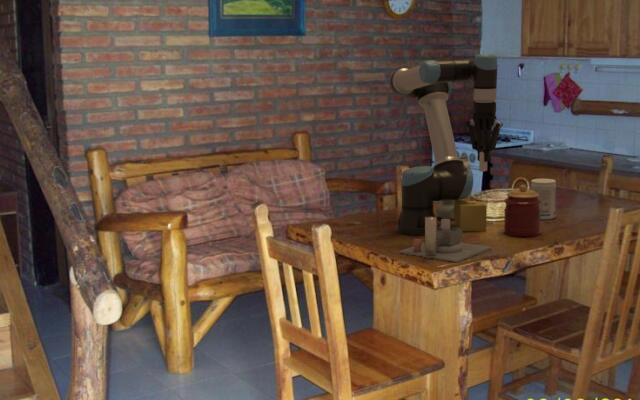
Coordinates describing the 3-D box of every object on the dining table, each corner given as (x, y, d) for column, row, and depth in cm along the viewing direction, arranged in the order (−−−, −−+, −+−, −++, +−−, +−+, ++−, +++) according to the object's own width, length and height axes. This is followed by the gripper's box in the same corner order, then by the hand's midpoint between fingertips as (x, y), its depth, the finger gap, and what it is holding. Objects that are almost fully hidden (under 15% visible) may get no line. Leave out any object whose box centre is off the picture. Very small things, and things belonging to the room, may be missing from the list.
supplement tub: (540, 214, 350) (541, 177, 348) (560, 217, 343) (561, 180, 340) (525, 217, 344) (525, 180, 342) (545, 221, 337) (546, 183, 334)
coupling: (440, 243, 299) (440, 209, 297) (461, 246, 294) (462, 211, 292) (417, 253, 286) (417, 217, 284) (439, 256, 282) (439, 219, 280)
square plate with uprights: (399, 253, 292) (399, 221, 290) (435, 240, 309) (435, 210, 307) (456, 263, 278) (457, 229, 276) (491, 249, 295) (491, 217, 293)
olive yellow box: (481, 225, 332) (481, 199, 331) (487, 231, 322) (487, 204, 320) (453, 226, 332) (453, 200, 330) (458, 232, 322) (459, 205, 320)
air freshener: (453, 215, 352) (453, 190, 351) (467, 218, 346) (467, 193, 344) (432, 218, 347) (432, 193, 345) (446, 221, 340) (446, 196, 338)
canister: (527, 227, 326) (528, 180, 323) (548, 234, 314) (549, 186, 311) (496, 231, 322) (497, 183, 318) (516, 238, 310) (517, 189, 307)
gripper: (507, 101, 293) (505, 171, 298) (473, 99, 301) (472, 167, 306) (496, 103, 287) (494, 174, 292) (462, 101, 296) (460, 170, 301)
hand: (483, 170), depth 299 cm, fingers closed
